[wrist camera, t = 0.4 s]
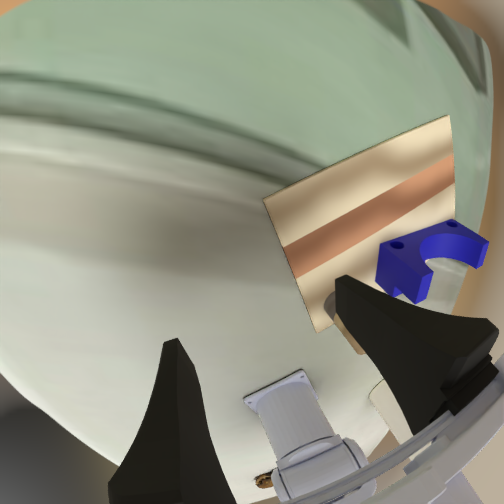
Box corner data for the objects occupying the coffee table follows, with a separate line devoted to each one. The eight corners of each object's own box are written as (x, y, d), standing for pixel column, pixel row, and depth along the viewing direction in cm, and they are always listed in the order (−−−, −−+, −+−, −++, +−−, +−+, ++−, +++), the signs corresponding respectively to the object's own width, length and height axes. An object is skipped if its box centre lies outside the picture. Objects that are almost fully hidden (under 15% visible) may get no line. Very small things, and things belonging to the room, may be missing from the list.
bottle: (363, 393, 42) (448, 522, 18) (400, 364, 42) (493, 487, 17) (373, 402, 47) (447, 513, 22) (406, 377, 46) (486, 483, 21)
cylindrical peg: (351, 303, 28) (385, 341, 23) (326, 317, 28) (357, 359, 23) (347, 283, 26) (384, 322, 21) (320, 299, 26) (354, 342, 21)
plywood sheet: (451, 239, 30) (453, 240, 30) (315, 331, 29) (317, 333, 29) (447, 114, 21) (449, 115, 21) (262, 199, 20) (263, 200, 20)
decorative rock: (254, 481, 57) (307, 462, 60) (260, 494, 53) (314, 473, 57) (250, 474, 50) (311, 452, 54) (256, 489, 47) (319, 465, 50)
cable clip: (374, 281, 28) (411, 316, 23) (379, 243, 25) (422, 277, 20) (444, 251, 30) (478, 276, 25) (451, 218, 28) (489, 241, 23)
